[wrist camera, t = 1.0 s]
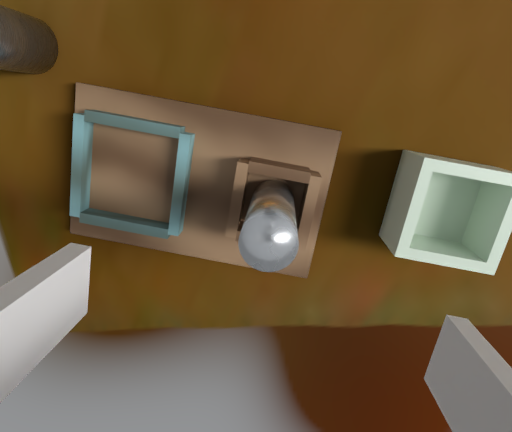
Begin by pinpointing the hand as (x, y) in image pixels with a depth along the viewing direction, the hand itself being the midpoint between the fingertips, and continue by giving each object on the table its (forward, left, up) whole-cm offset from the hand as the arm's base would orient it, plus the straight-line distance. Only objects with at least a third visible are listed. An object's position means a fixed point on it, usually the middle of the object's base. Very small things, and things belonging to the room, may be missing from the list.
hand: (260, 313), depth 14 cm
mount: (0, -6, -18) cm, 19 cm away
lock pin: (0, 0, -17) cm, 17 cm away
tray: (-2, +12, -18) cm, 22 cm away
